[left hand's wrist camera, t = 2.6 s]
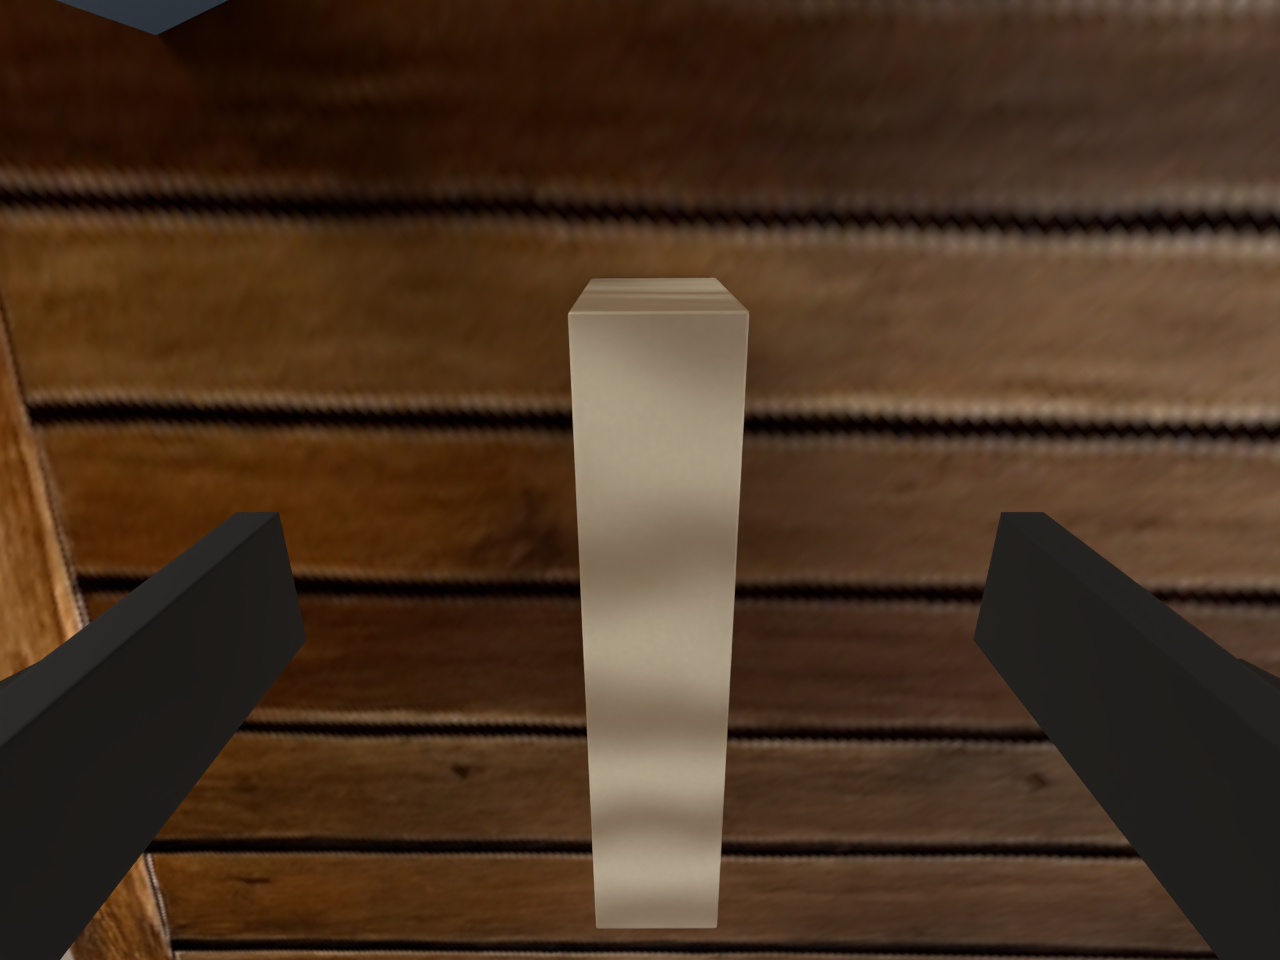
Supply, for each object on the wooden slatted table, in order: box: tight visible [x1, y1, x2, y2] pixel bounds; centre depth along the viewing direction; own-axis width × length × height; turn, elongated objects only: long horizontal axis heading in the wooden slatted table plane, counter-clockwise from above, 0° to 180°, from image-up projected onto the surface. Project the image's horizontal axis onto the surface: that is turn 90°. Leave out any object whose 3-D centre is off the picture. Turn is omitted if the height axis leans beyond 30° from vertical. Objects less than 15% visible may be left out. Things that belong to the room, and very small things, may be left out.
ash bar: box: [568, 278, 749, 928], centre depth 27 cm, size 25×5×9 cm, turn 0°
